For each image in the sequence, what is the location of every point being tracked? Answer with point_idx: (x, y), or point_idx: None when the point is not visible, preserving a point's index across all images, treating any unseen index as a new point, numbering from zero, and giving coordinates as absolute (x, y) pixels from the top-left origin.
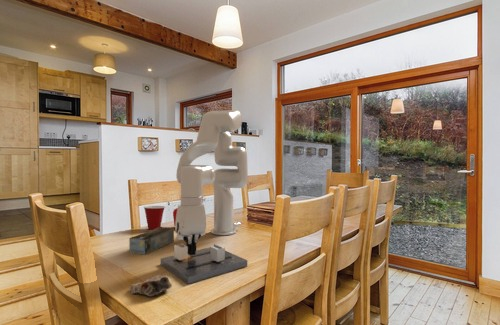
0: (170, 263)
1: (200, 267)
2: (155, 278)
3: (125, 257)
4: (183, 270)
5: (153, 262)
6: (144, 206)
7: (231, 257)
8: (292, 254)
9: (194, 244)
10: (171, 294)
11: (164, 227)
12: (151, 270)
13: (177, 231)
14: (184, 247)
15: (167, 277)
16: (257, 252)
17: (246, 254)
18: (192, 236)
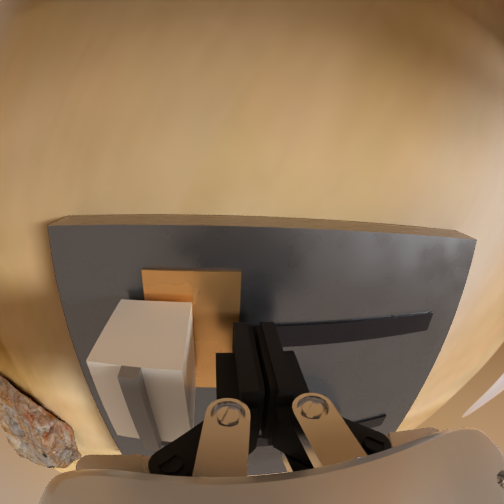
0: (85, 352)
1: None
2: (32, 439)
3: (11, 5)
4: (129, 439)
5: (48, 151)
6: None
7: (378, 424)
8: (488, 393)
9: (268, 438)
10: (83, 452)
11: None
12: (20, 273)
13: (80, 487)
14: (162, 438)
15: (64, 467)
16: (488, 346)
17: (467, 348)
18: (309, 450)
